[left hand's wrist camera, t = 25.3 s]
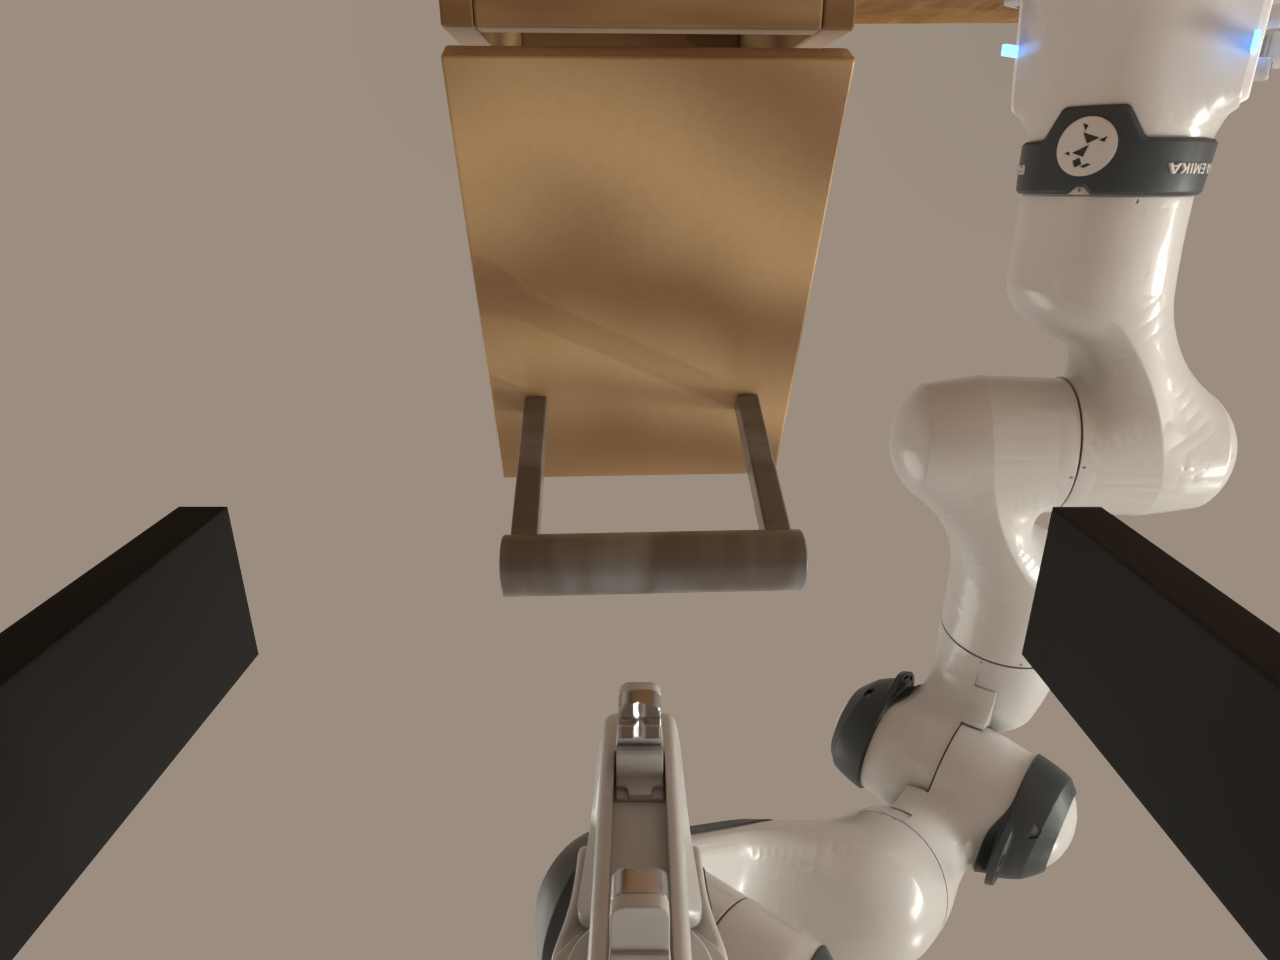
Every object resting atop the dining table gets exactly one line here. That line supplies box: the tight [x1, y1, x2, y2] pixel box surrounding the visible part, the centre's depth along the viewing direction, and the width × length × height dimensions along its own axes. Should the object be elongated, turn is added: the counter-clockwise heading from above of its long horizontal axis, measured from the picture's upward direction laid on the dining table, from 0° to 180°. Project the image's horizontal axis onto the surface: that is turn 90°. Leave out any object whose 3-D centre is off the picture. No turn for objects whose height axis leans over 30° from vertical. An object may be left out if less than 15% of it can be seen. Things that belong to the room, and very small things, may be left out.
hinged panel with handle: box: [441, 46, 855, 597], centre depth 20 cm, size 13×10×8 cm
